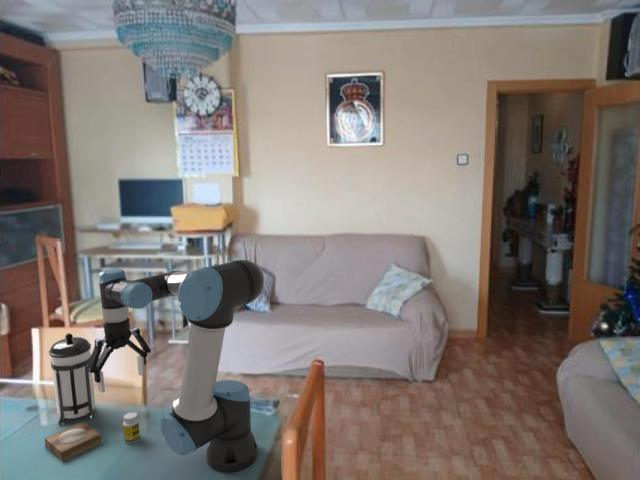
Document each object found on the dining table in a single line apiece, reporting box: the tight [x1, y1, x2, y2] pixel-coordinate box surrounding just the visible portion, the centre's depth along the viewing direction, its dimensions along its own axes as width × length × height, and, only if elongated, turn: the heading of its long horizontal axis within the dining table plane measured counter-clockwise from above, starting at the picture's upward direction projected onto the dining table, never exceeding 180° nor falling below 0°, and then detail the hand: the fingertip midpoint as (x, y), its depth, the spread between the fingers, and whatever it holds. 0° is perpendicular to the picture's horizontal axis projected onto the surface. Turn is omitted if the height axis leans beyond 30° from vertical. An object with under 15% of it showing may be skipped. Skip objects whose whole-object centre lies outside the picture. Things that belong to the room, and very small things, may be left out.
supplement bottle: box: [122, 412, 141, 444], centre depth 156 cm, size 5×5×8 cm
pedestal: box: [43, 421, 103, 462], centre depth 154 cm, size 12×12×3 cm
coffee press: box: [48, 332, 96, 426], centre depth 168 cm, size 17×16×30 cm
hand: (122, 383), depth 156 cm, fingers open, 13 cm apart
